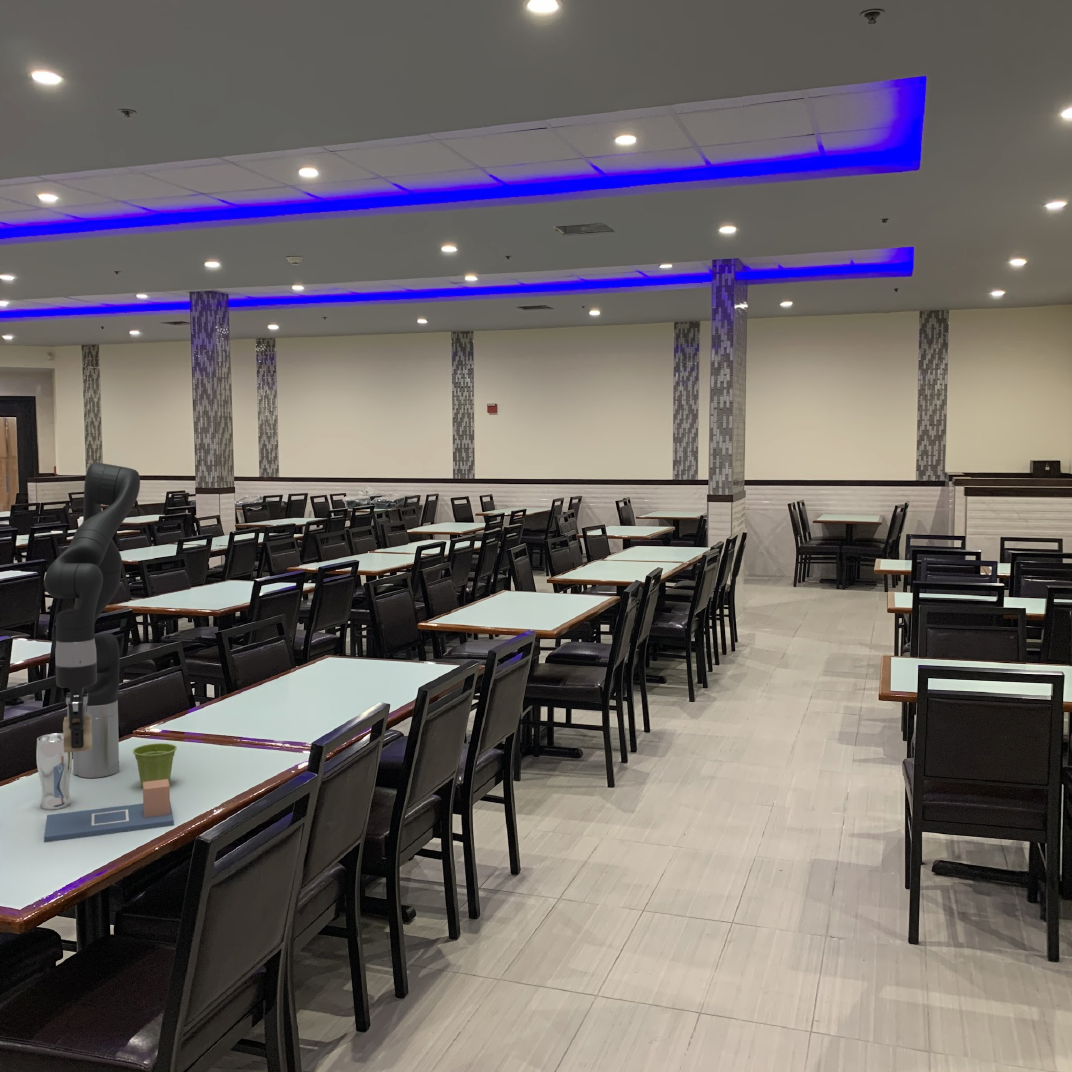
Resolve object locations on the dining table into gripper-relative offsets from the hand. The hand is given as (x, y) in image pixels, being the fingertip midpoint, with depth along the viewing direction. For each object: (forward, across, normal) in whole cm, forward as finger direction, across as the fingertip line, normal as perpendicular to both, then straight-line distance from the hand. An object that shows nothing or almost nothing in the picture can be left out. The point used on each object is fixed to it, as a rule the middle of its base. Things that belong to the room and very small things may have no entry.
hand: (78, 743), depth 202 cm
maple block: (+1, 0, 0) cm, 1 cm away
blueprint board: (+17, 0, -6) cm, 18 cm away
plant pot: (+18, +21, -15) cm, 31 cm away
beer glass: (+17, +15, +6) cm, 24 cm away
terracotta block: (+16, 0, -15) cm, 22 cm away
